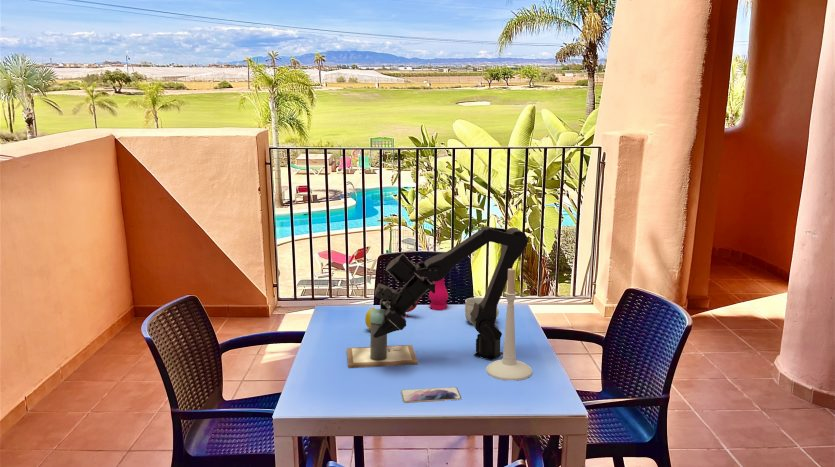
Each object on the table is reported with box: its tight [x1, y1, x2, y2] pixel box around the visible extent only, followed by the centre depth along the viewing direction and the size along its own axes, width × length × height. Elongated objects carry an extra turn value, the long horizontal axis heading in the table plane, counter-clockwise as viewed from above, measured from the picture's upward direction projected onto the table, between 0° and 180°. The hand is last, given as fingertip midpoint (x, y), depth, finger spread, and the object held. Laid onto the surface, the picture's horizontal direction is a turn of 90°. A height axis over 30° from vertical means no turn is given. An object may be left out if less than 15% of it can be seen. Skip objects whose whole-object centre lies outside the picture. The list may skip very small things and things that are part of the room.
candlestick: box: [485, 267, 533, 382], centre depth 183 cm, size 13×13×30 cm
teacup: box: [464, 297, 500, 324], centre depth 226 cm, size 14×11×8 cm
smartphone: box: [400, 386, 462, 404], centre depth 171 cm, size 7×1×15 cm
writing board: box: [346, 344, 419, 369], centre depth 197 cm, size 20×14×1 cm
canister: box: [369, 308, 388, 360], centre depth 193 cm, size 5×5×14 cm
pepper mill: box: [428, 277, 449, 311], centre depth 244 cm, size 7×7×20 cm
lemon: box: [364, 307, 376, 330], centre depth 219 cm, size 6×6×8 cm
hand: (373, 331), depth 192 cm, fingers open, 9 cm apart
